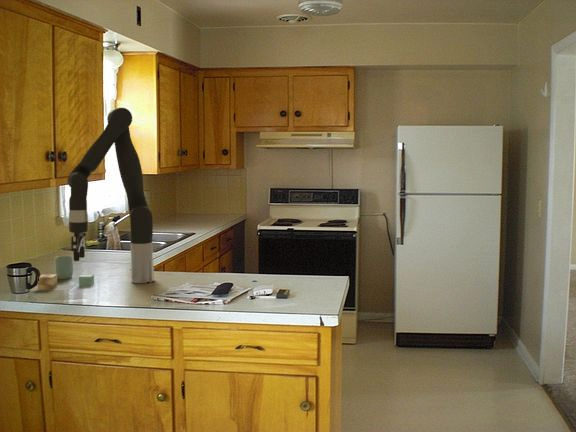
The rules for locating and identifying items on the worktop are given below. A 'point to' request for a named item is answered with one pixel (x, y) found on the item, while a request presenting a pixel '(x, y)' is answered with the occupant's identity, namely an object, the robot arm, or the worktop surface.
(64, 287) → the pale flat slab
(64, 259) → the cup
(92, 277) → the teal block
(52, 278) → the oak block
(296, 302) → the worktop surface
